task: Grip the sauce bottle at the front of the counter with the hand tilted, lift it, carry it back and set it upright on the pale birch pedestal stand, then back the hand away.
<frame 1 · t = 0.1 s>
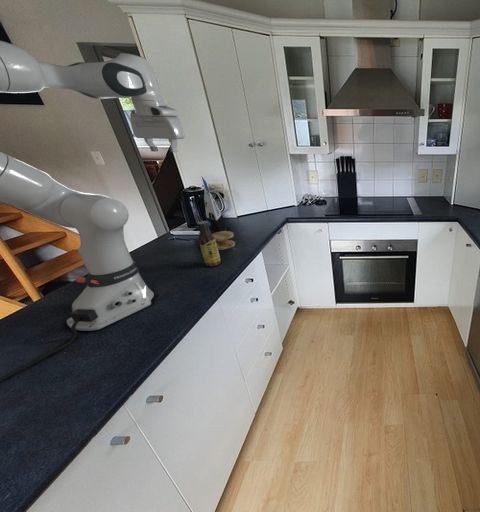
hand: (164, 151, 103), 48 cm above the worktop, tool pointing down, fingers open, 8 cm apart
sauce bottle: (214, 264, 124), on the worktop
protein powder: (218, 230, 163), on the worktop
stand: (224, 245, 142), on the worktop
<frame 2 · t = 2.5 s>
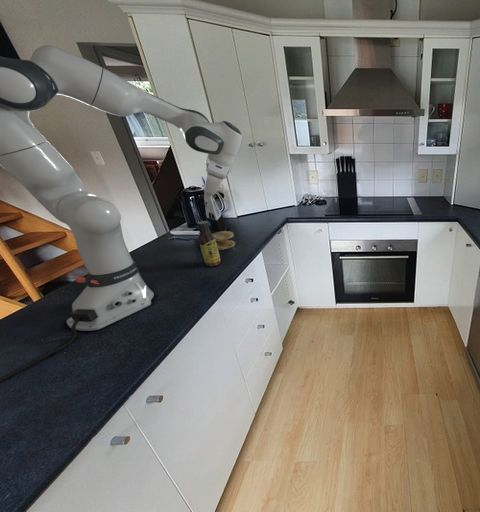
hand: (208, 193, 111), 32 cm above the worktop, tool tilted 35°, fingers open, 8 cm apart
nothing on the worktop moved.
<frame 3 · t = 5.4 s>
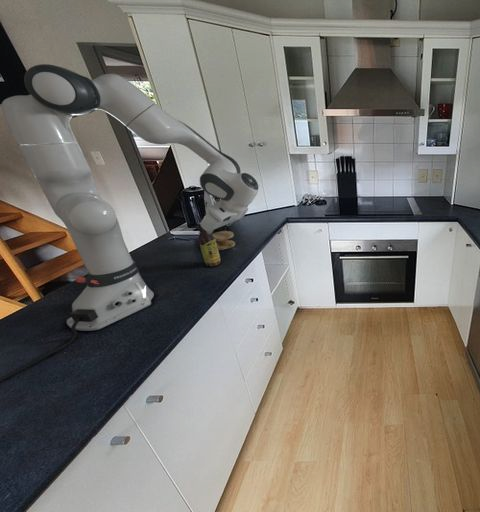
hand: (218, 228, 114), 18 cm above the worktop, tool tilted 45°, fingers open, 8 cm apart
nothing on the worktop moved.
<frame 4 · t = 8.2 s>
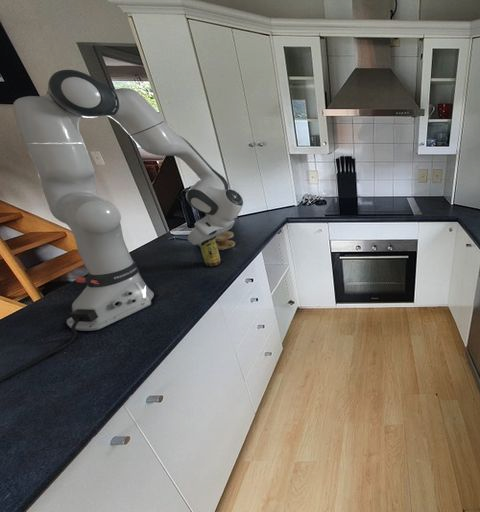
hand: (205, 240, 119), 11 cm above the worktop, tool tilted 45°, fingers closed on sauce bottle, 6 cm apart
sauce bottle: (214, 264, 124), on the worktop, touching gripper
everything else where it was.
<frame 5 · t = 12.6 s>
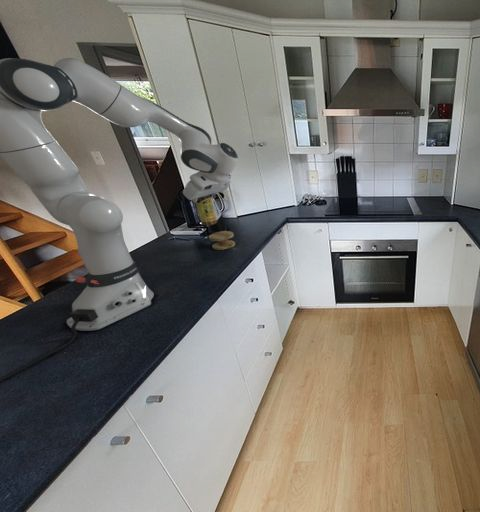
hand: (201, 199, 120), 28 cm above the worktop, tool tilted 45°, fingers closed on sauce bottle, 6 cm apart
sauce bottle: (210, 224, 125), point 16 cm above the worktop, touching gripper
everything else where it was.
when the fingers open (18 cm above the worktop, at t = 17.4 s): sauce bottle stays where it is, resting on stand.
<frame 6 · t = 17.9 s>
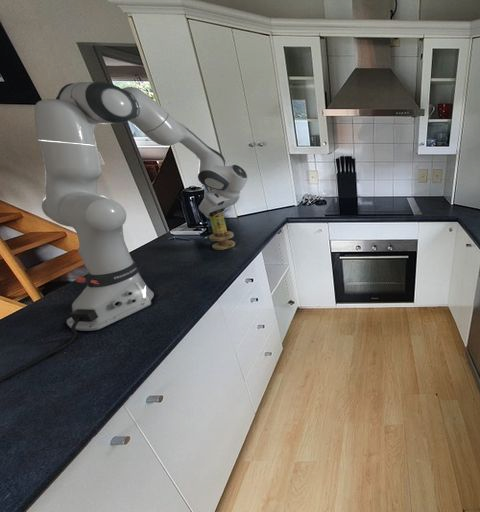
hand: (214, 212, 134), 18 cm above the worktop, tool tilted 45°, fingers open, 8 cm apart
sauce bottle: (221, 235, 139), point 6 cm above the worktop, touching stand
everything else where it was.
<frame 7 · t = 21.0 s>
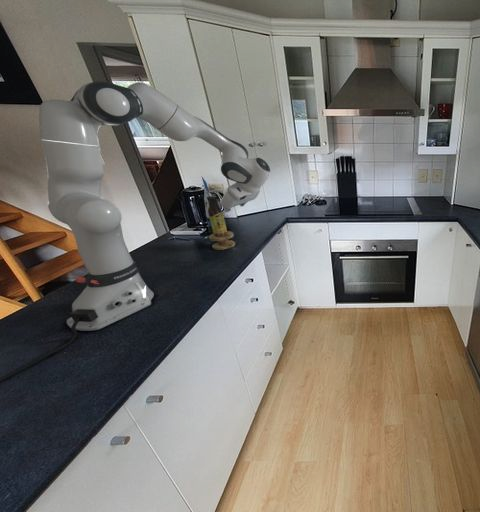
hand: (234, 207, 130), 21 cm above the worktop, tool tilted 45°, fingers open, 8 cm apart
nothing on the worktop moved.
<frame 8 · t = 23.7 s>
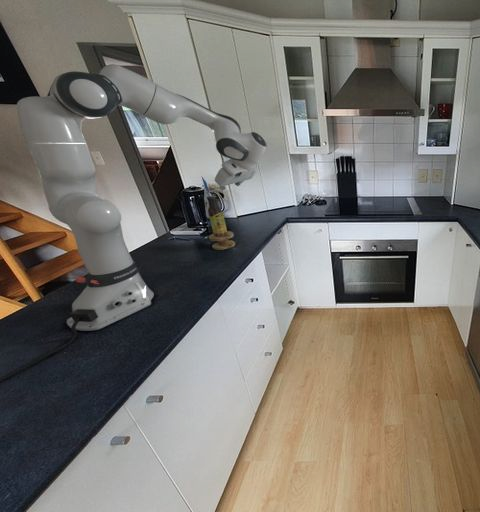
hand: (229, 186, 126), 31 cm above the worktop, tool tilted 45°, fingers open, 8 cm apart
nothing on the worktop moved.
at the end: sauce bottle 0.1 cm off-centre on the stand, point 6.0 cm above the stand's base; sauce bottle tilted 0°; the gripper is holding nothing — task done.
